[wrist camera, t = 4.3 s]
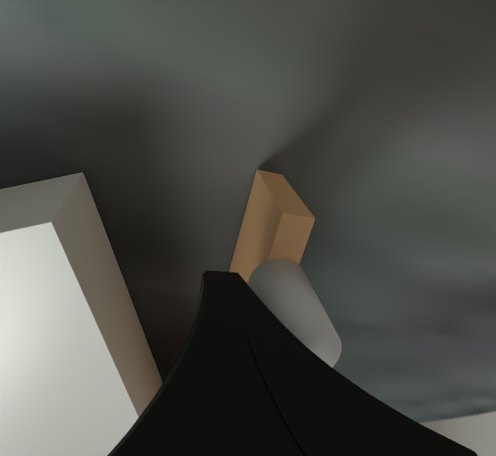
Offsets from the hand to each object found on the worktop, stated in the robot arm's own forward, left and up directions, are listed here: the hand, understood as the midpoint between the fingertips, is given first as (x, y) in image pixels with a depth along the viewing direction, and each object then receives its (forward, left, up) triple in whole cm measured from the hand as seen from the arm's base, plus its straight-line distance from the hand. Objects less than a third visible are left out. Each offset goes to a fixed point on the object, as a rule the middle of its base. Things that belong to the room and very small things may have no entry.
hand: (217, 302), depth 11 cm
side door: (-5, 0, -5) cm, 7 cm away
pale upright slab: (-4, +7, -5) cm, 10 cm away
